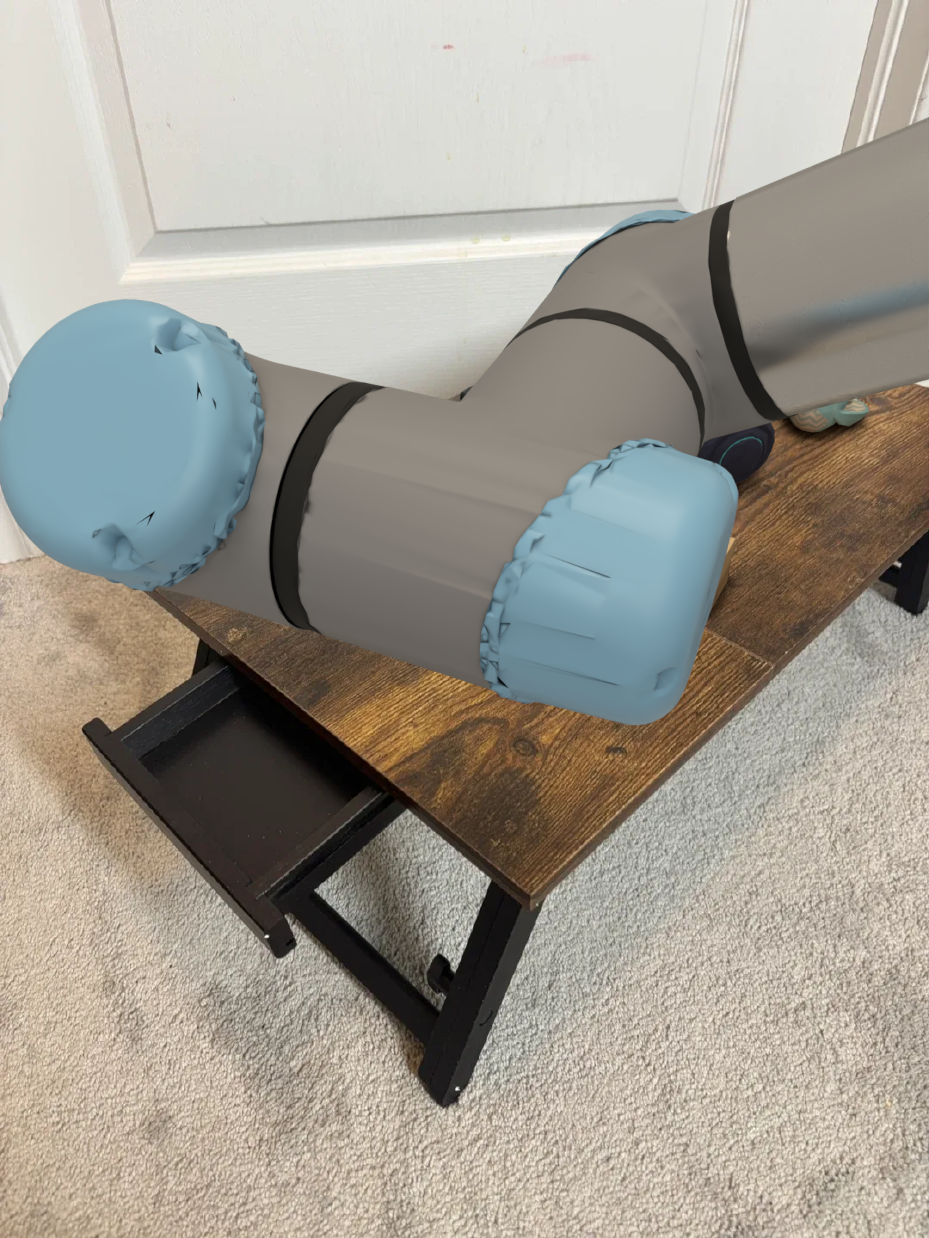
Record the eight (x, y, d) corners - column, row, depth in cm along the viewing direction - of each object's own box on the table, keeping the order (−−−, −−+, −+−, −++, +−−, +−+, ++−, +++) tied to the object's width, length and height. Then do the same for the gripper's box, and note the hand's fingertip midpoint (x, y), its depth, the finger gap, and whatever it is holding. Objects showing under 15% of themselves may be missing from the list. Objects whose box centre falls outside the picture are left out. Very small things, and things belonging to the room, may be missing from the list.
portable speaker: (565, 406, 110) (569, 325, 103) (636, 384, 113) (643, 305, 106) (698, 514, 93) (712, 427, 86) (776, 486, 96) (795, 399, 89)
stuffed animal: (890, 355, 105) (873, 383, 96) (871, 416, 109) (853, 448, 100) (794, 337, 109) (769, 362, 100) (779, 397, 113) (754, 426, 104)
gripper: (180, 584, 40) (379, 620, 63) (464, 648, 36) (566, 662, 59) (218, 414, 40) (403, 511, 63) (505, 461, 36) (591, 546, 59)
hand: (482, 584), depth 61 cm, fingers closed
